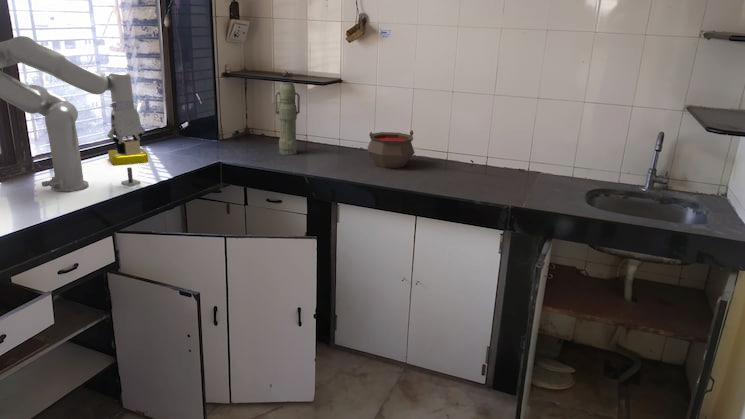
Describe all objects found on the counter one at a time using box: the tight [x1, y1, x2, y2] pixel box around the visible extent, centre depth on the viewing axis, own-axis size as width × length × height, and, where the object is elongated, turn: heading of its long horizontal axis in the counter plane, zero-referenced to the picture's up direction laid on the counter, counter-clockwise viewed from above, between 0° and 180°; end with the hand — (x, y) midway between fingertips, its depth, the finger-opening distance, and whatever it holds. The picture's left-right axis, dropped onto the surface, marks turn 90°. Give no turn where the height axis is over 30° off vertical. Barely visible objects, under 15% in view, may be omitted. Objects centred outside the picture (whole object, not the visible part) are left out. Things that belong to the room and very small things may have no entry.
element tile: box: [107, 147, 149, 166], centre depth 257 cm, size 15×15×5 cm
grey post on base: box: [121, 167, 141, 187], centre depth 222 cm, size 5×5×6 cm
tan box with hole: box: [117, 138, 141, 156], centre depth 218 cm, size 6×6×5 cm
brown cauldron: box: [367, 129, 416, 169], centre depth 267 cm, size 24×24×16 cm
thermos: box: [274, 81, 301, 156], centre depth 278 cm, size 9×12×35 cm
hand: (128, 151), depth 219 cm, fingers closed on tan box with hole, 6 cm apart
